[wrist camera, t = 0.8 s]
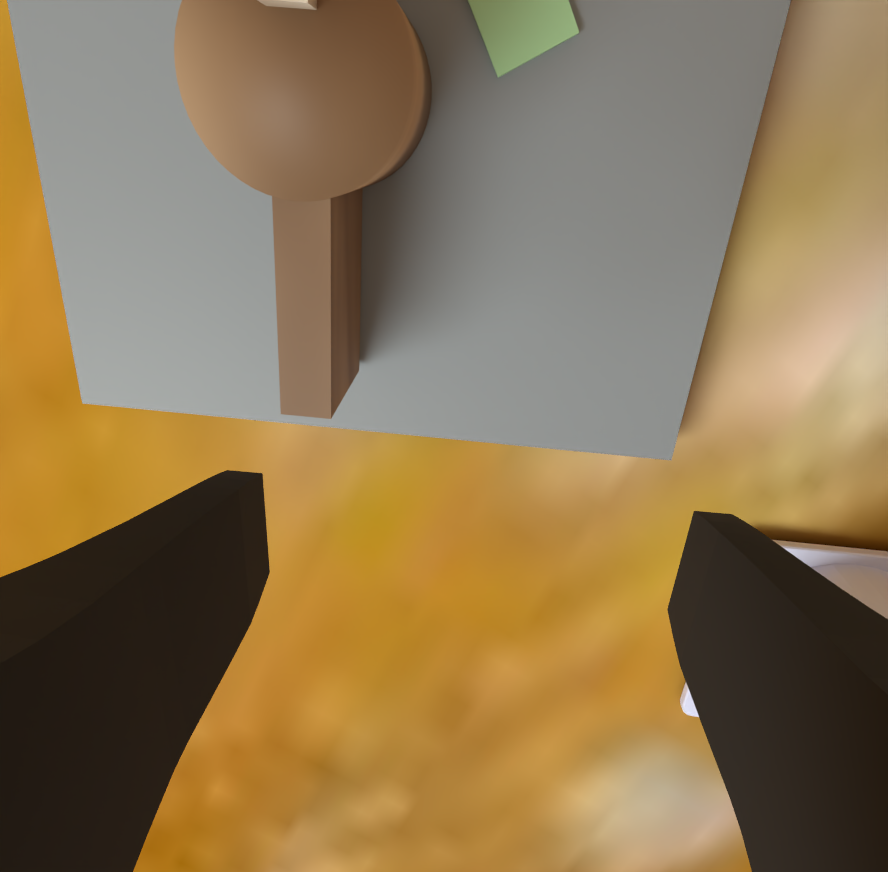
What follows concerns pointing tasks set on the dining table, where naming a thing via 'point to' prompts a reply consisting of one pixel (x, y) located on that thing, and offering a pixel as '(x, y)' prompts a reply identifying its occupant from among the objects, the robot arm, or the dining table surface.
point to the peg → (307, 152)
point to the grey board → (417, 224)
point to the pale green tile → (522, 29)
